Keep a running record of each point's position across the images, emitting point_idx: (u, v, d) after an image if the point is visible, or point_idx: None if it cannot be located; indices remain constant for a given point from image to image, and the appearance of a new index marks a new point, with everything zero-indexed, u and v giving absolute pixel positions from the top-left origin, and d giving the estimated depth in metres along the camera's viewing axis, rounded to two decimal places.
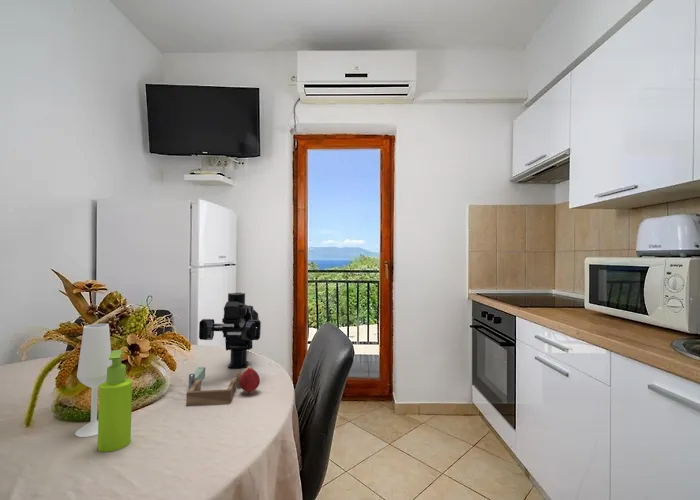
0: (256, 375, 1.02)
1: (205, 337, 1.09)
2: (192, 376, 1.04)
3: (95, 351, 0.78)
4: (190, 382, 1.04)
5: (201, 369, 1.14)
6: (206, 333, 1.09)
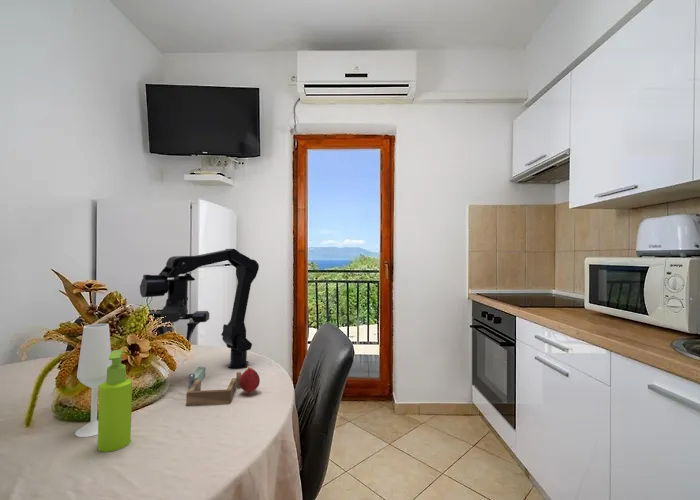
0: (256, 375, 1.02)
1: None
2: (192, 376, 1.04)
3: (95, 351, 0.78)
4: (190, 382, 1.04)
5: (201, 369, 1.14)
6: None
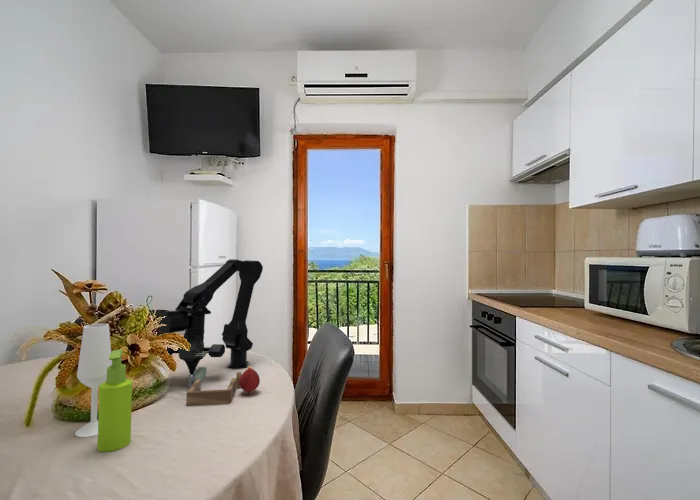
0: (256, 375, 1.02)
1: None
2: (192, 376, 1.04)
3: (95, 351, 0.78)
4: (190, 382, 1.04)
5: (202, 369, 1.14)
6: None
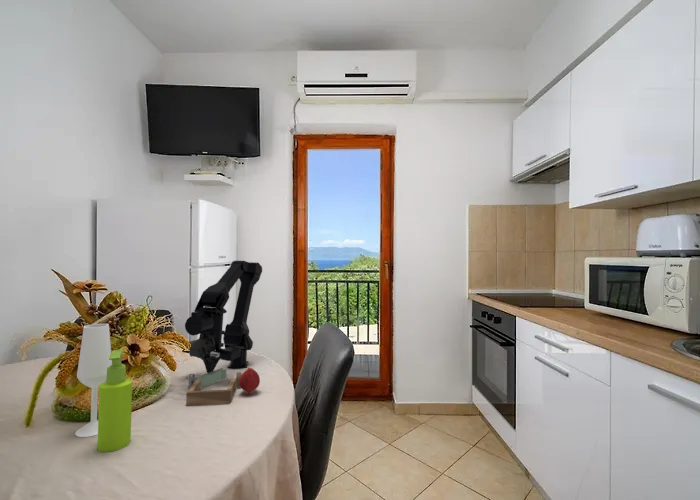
0: (256, 375, 1.02)
1: None
2: (192, 376, 1.04)
3: (95, 351, 0.78)
4: (190, 382, 1.04)
5: (218, 371, 1.13)
6: None
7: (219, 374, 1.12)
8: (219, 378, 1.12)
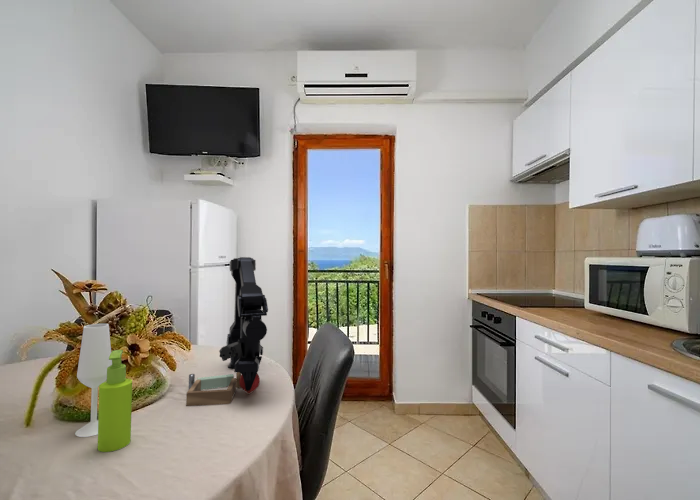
0: (256, 375, 1.02)
1: None
2: (192, 376, 1.04)
3: (95, 351, 0.78)
4: (190, 382, 1.04)
5: (224, 376, 1.08)
6: None
7: (224, 380, 1.07)
8: (224, 384, 1.07)
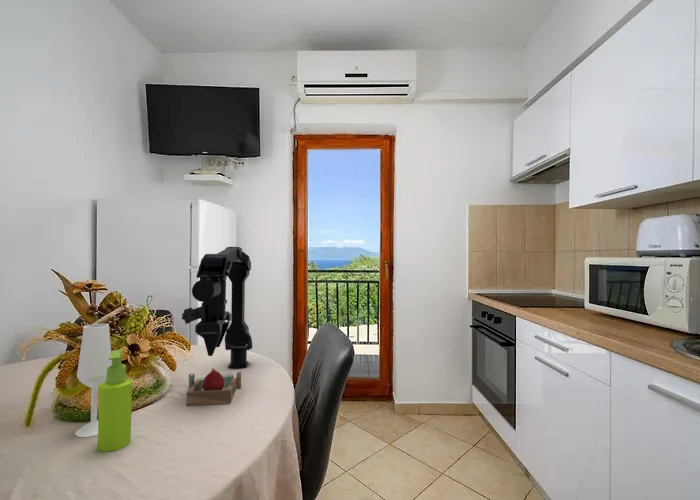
0: (220, 377, 0.99)
1: None
2: (192, 376, 1.04)
3: (95, 351, 0.78)
4: (190, 382, 1.04)
5: (224, 376, 1.08)
6: None
7: (224, 380, 1.07)
8: (224, 384, 1.07)
